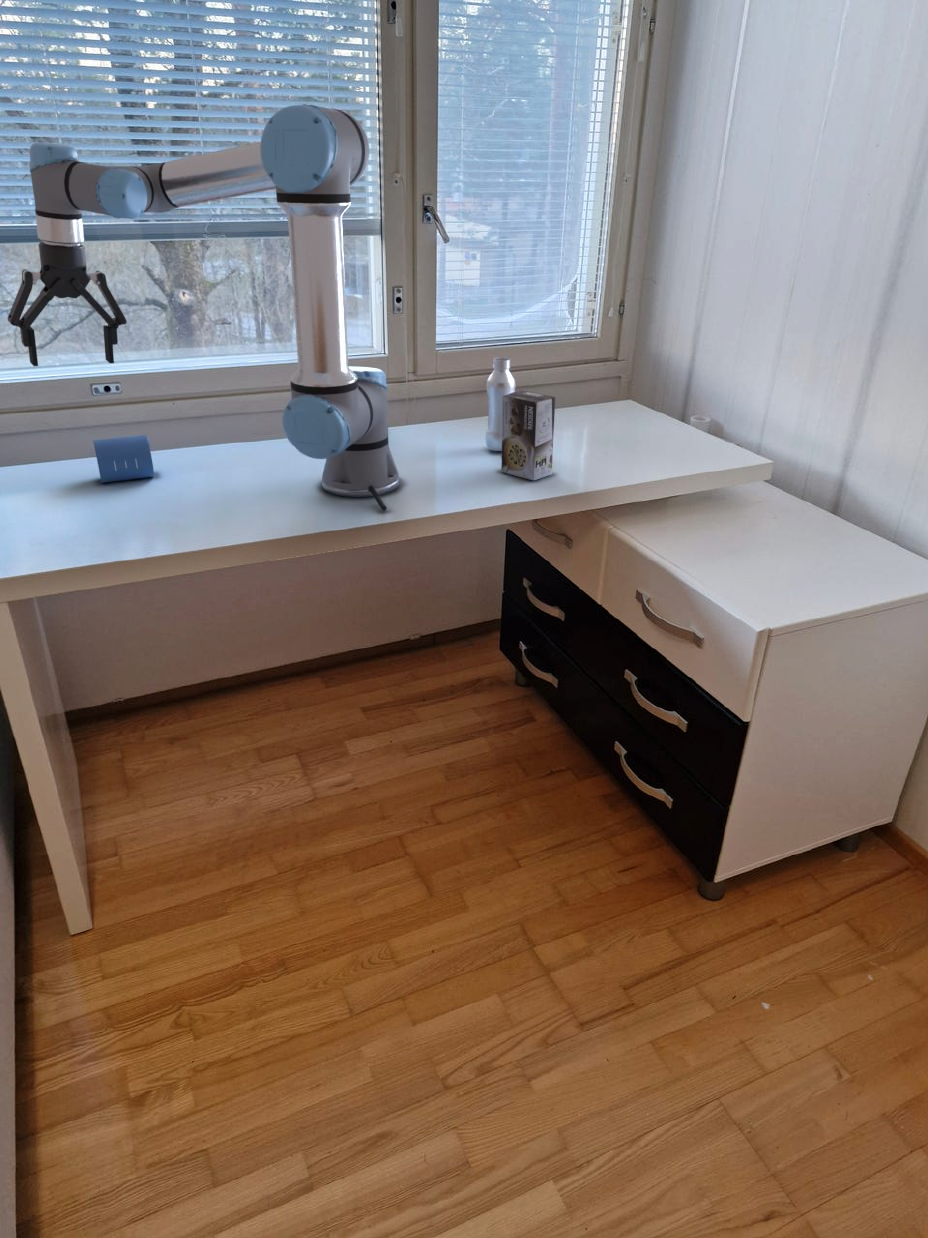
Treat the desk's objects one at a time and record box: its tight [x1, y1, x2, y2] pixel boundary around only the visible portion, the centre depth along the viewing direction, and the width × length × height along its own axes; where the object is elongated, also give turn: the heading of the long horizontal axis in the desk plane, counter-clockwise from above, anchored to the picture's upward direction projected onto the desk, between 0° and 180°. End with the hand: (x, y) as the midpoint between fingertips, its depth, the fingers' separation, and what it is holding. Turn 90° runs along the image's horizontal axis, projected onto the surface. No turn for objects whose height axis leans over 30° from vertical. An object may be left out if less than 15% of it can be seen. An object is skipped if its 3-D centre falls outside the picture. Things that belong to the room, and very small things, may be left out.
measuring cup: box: [92, 434, 155, 483], centre depth 174 cm, size 10×8×8 cm
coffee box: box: [500, 389, 556, 482], centre depth 177 cm, size 9×6×16 cm
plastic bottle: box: [485, 357, 517, 452], centre depth 191 cm, size 6×7×20 cm
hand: (72, 362), depth 165 cm, fingers open, 13 cm apart
